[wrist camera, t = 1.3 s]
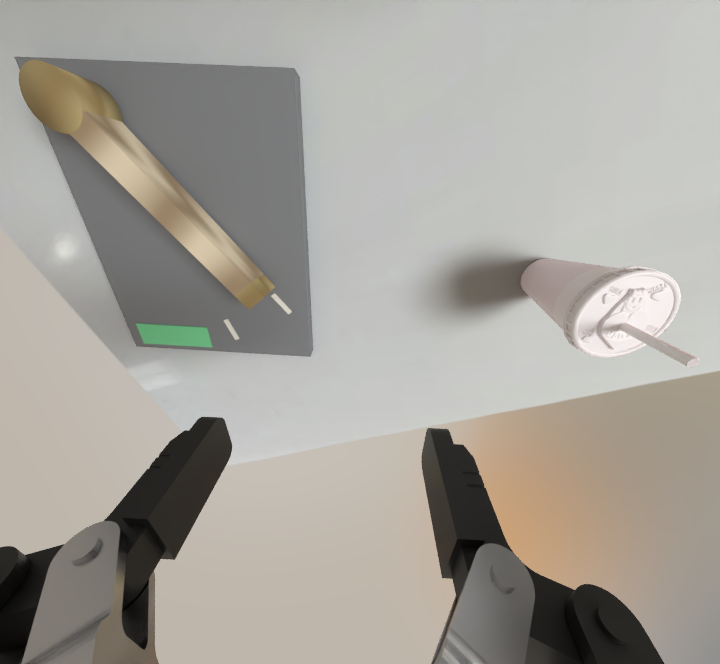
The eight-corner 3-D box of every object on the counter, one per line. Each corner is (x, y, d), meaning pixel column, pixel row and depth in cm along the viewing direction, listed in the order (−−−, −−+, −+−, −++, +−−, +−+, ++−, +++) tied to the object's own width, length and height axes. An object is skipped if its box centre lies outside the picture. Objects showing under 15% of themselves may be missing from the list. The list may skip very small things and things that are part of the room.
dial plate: (38, 66, 20) (12, 55, 18) (299, 77, 19) (293, 67, 18) (146, 339, 31) (135, 346, 29) (312, 349, 31) (310, 357, 29)
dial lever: (63, 107, 19) (10, 92, 16) (85, 66, 18) (32, 42, 15) (256, 302, 26) (242, 315, 23) (281, 281, 25) (270, 292, 22)
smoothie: (501, 309, 27) (609, 403, 15) (512, 246, 24) (658, 298, 12) (565, 305, 27) (732, 399, 14) (584, 240, 24) (816, 288, 11)
